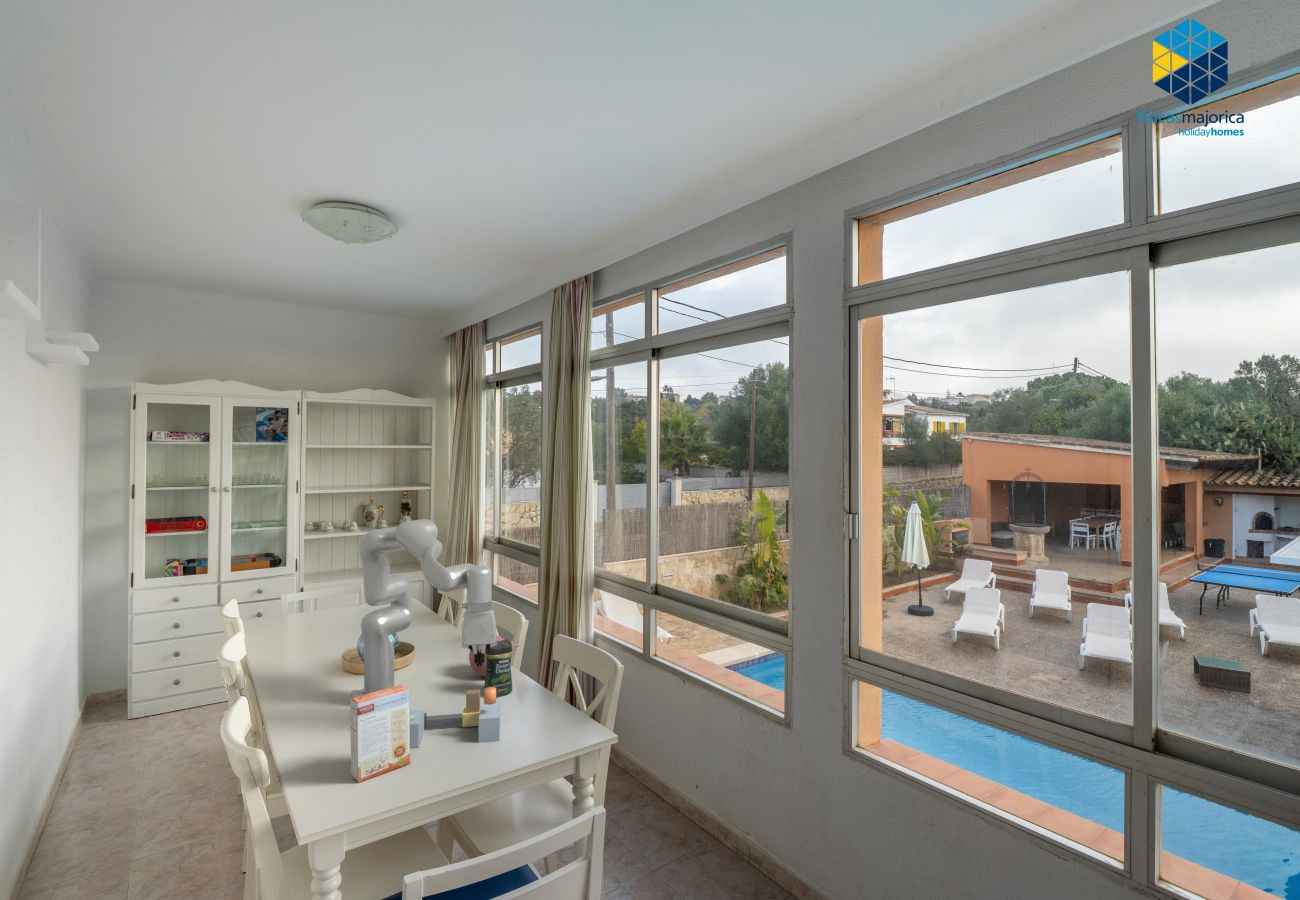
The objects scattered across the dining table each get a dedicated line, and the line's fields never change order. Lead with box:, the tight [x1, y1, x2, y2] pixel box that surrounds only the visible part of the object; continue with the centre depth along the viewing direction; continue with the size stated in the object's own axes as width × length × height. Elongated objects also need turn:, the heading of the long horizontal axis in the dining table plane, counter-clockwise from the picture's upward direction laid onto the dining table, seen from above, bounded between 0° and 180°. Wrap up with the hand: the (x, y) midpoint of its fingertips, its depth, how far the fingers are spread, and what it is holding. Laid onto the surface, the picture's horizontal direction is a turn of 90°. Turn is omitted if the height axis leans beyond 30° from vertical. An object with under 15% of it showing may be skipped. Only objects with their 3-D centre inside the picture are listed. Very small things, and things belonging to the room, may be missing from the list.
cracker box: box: [349, 684, 411, 783], centre depth 168 cm, size 14×6×21 cm, turn 134°
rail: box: [424, 712, 470, 731], centre depth 195 cm, size 20×3×4 cm, turn 101°
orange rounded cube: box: [483, 687, 497, 705], centre depth 188 cm, size 4×4×4 cm
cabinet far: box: [478, 703, 502, 743], centre depth 190 cm, size 6×10×7 cm, turn 11°
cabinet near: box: [409, 709, 425, 749], centre depth 185 cm, size 7×10×8 cm
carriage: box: [461, 689, 481, 728], centre depth 196 cm, size 6×5×10 cm
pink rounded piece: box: [468, 634, 520, 677], centre depth 239 cm, size 15×20×15 cm
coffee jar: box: [483, 639, 514, 698], centre depth 221 cm, size 10×8×19 cm
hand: (479, 665), depth 193 cm, fingers closed
